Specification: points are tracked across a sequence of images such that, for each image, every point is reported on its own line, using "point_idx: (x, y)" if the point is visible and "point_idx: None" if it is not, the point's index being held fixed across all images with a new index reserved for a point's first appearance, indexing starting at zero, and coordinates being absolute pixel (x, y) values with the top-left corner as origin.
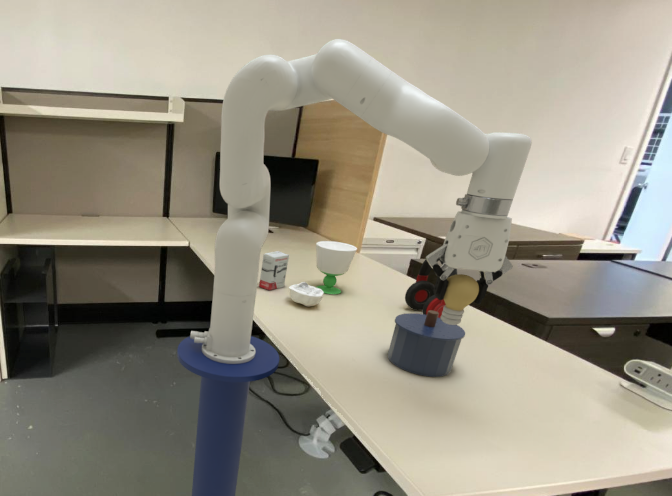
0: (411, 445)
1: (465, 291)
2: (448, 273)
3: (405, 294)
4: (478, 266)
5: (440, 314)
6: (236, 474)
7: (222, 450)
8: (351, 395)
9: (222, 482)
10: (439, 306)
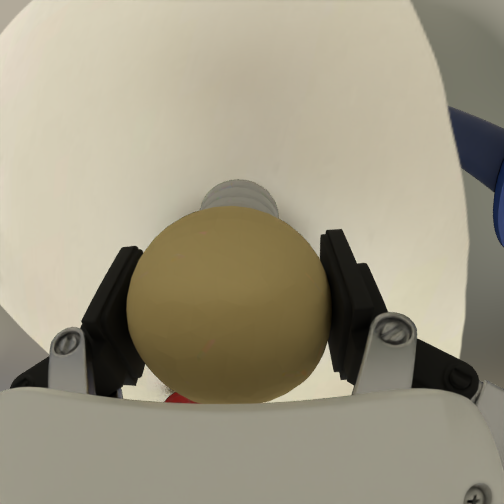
0: None
1: (223, 235)
2: (376, 361)
3: None
4: (133, 439)
5: (184, 401)
6: None
7: (467, 114)
8: (408, 88)
9: None
10: None
